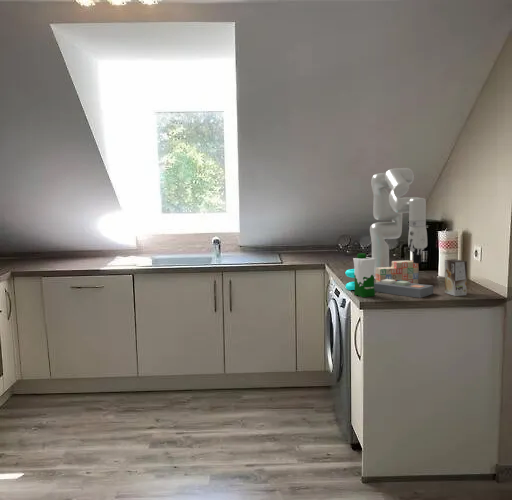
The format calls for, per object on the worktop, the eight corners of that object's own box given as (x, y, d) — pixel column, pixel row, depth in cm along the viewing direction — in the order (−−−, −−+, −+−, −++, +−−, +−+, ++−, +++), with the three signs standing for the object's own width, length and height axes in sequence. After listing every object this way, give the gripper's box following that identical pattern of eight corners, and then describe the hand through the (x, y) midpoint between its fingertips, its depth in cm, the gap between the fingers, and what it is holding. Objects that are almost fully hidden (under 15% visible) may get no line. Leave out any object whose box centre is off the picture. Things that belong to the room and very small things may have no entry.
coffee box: (467, 295, 248) (467, 261, 247) (455, 296, 247) (455, 262, 245) (455, 291, 257) (456, 258, 256) (443, 292, 256) (444, 259, 254)
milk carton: (366, 293, 261) (366, 252, 259) (378, 296, 253) (377, 254, 251) (351, 295, 257) (351, 254, 255) (362, 298, 249) (362, 255, 247)
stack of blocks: (380, 286, 277) (380, 263, 275) (375, 284, 283) (375, 261, 282) (418, 284, 280) (418, 261, 279) (413, 282, 286) (413, 259, 285)
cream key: (381, 286, 265) (381, 280, 265) (386, 284, 268) (386, 278, 268) (389, 287, 261) (389, 281, 261) (395, 285, 265) (395, 280, 264)
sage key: (395, 288, 259) (395, 282, 259) (400, 286, 263) (400, 280, 262) (404, 289, 256) (404, 283, 255) (409, 287, 259) (409, 281, 259)
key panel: (372, 291, 265) (372, 283, 264) (386, 287, 273) (386, 280, 272) (420, 297, 246) (420, 289, 245) (433, 293, 254) (433, 285, 254)
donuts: (347, 271, 265) (343, 268, 275) (347, 291, 266) (343, 288, 276) (367, 271, 265) (362, 268, 275) (367, 290, 266) (363, 287, 276)
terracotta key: (409, 292, 254) (409, 286, 253) (415, 290, 257) (415, 284, 257) (419, 293, 250) (419, 287, 250) (424, 292, 253) (424, 285, 253)
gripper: (416, 225, 243) (415, 265, 245) (432, 223, 253) (432, 261, 255) (401, 225, 248) (401, 264, 250) (418, 223, 258) (418, 260, 260)
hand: (417, 262), depth 252 cm, fingers closed
